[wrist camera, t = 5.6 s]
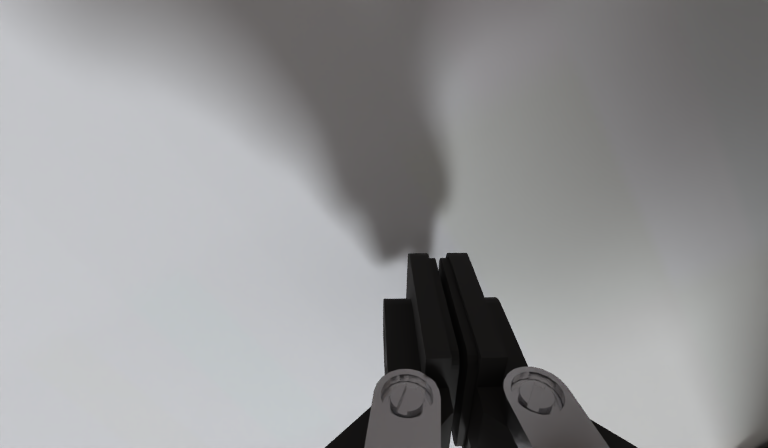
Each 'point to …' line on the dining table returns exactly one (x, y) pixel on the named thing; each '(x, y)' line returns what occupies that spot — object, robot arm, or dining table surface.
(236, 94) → the dining table surface
